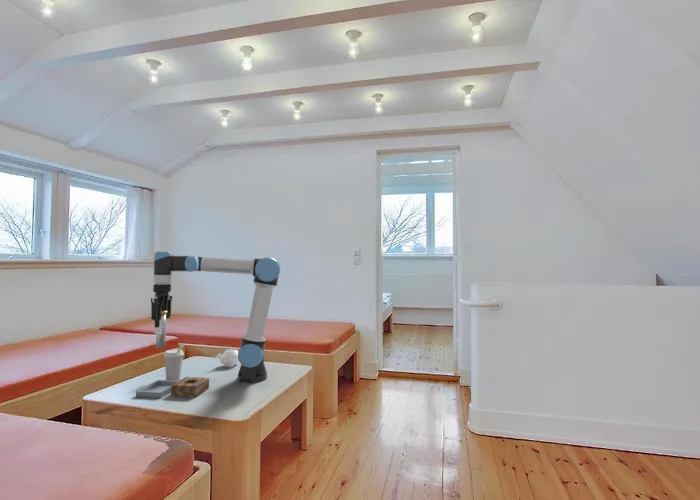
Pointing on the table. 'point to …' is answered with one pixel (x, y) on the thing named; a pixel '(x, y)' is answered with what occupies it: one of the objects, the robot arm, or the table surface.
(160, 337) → the hitch pin
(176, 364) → the coffee cup
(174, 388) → the socket block
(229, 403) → the table surface
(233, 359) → the teapot
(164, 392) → the tray
